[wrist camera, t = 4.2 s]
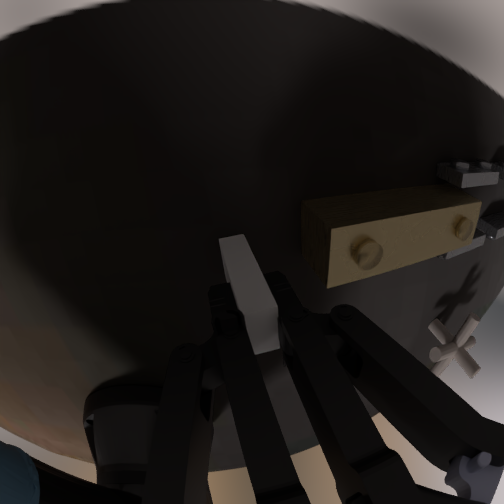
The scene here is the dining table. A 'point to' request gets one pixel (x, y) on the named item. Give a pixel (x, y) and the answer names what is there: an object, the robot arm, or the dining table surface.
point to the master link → (384, 230)
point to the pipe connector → (454, 346)
